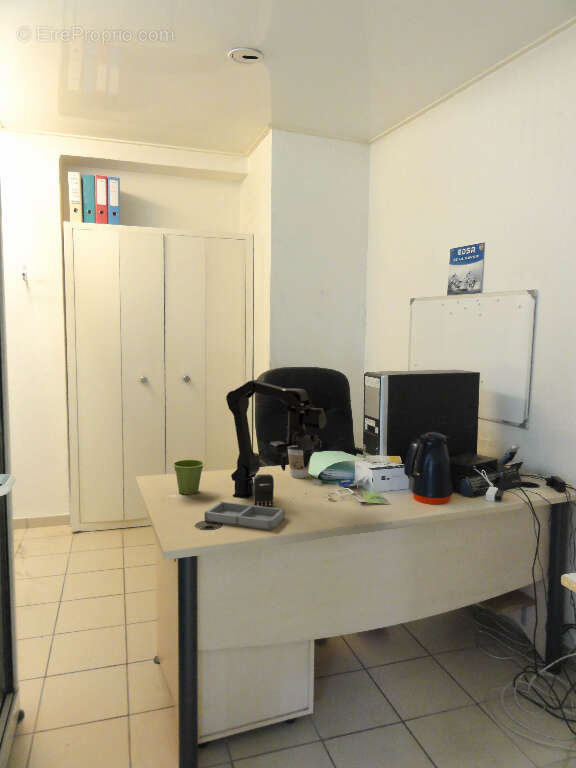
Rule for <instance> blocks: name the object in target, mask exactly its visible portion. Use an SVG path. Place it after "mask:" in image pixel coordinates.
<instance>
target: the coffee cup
mask: <svg viewBox="0 0 576 768" xmlns="http://www.w3.org/2000/svg"><path fill="white" fill-rule="evenodd" d="M287 453H288V454H287V455H288V462H289V471H290V473H289V474H290V477H292V478H295V479H303V478H304V477H305V478H307V477H308V475H309V471H310V464H311V460H310V461H309V463H308V466H307V468H305V467H304V461H303V451H302V450H300V448H299V447H296V448H288V449H287ZM305 478H304V479H305Z"/></svg>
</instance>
